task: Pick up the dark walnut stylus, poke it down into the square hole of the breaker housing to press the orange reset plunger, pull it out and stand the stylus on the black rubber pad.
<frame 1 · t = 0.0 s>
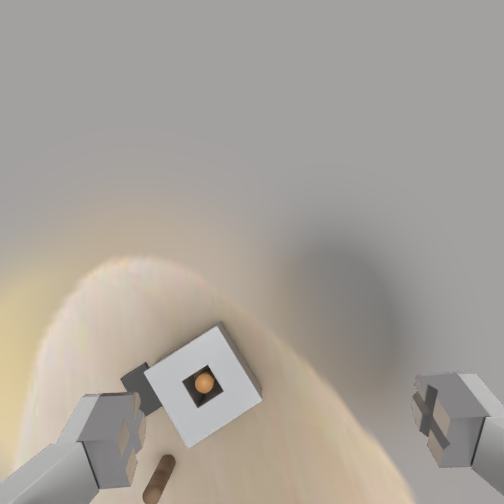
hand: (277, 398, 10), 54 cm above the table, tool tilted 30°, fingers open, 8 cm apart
breaker housing: (208, 375, 63), on the table
rubber pad: (145, 389, 63), on the table
reset plunger: (205, 381, 59), point 4 cm above the table, slide at 0.0 cm
stylus: (168, 462, 62), on the table
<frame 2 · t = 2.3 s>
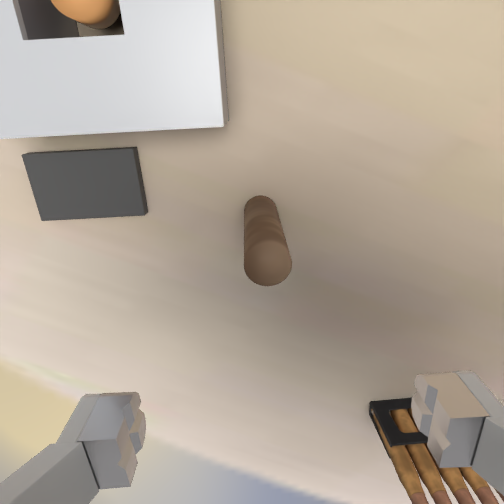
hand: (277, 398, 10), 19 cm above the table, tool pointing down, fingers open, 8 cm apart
breaker housing: (112, 10, 23), on the table
ammunition clip: (419, 401, 37), on the table
rubber pad: (90, 183, 27), on the table
stylus: (260, 211, 28), on the table
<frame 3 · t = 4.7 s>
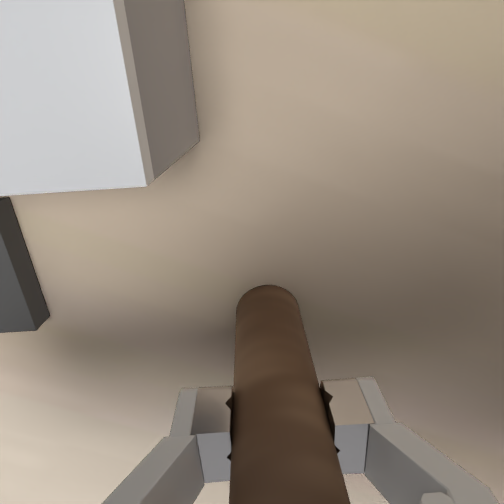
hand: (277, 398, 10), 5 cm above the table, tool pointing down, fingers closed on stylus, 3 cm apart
stylus: (267, 312, 15), on the table, touching gripper
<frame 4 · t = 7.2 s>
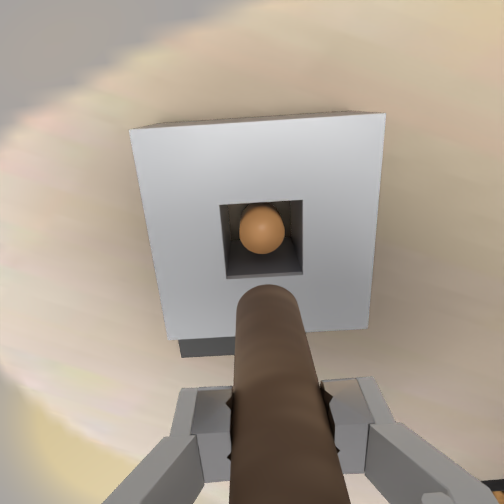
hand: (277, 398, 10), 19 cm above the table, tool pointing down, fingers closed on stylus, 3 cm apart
breaker housing: (259, 209, 28), on the table
ammunition clip: (480, 484, 42), on the table
rubber pad: (222, 326, 32), on the table
reset plunger: (261, 227, 24), point 4 cm above the table, slide at 0.0 cm
stylus: (267, 311, 15), point 15 cm above the table, touching gripper
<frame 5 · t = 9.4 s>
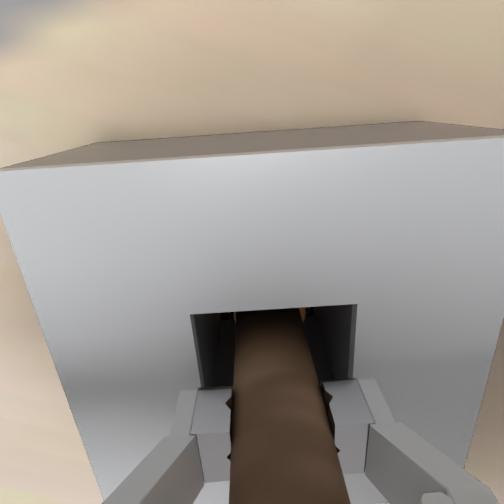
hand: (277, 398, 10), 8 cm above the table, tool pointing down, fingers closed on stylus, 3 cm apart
breaker housing: (265, 276, 18), on the table
reset plunger: (267, 299, 16), point 2 cm above the table, slide at 2.0 cm, touching stylus
stylus: (267, 311, 15), point 3 cm above the table, touching gripper, reset plunger
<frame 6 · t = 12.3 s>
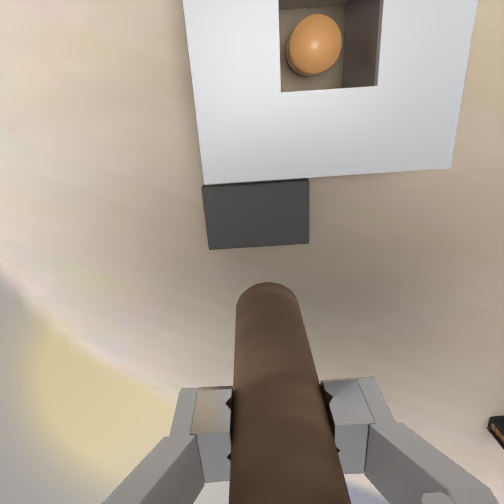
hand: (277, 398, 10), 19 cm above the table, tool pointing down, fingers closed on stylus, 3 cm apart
breaker housing: (306, 51, 23), on the table
rubber pad: (256, 212, 28), on the table
reset plunger: (312, 47, 22), point 2 cm above the table, slide at 2.2 cm
stylus: (267, 309, 14), point 14 cm above the table, touching gripper
when the fingers open (7 cm above the table, at t = 14.7 s): stylus drops 1 cm, resting on rubber pad.
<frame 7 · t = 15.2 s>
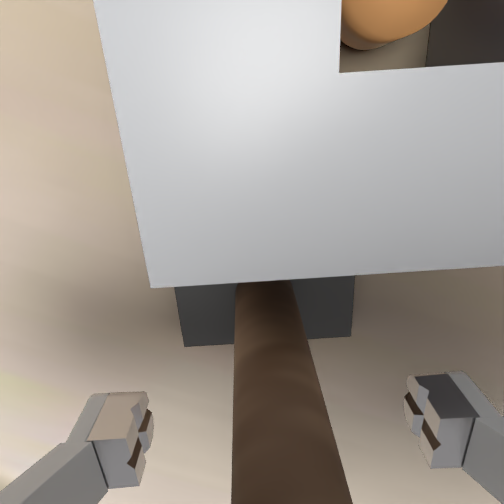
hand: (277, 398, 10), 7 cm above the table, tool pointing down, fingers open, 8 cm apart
breaker housing: (362, 4, 12), on the table
rubber pad: (264, 285, 17), on the table
stylus: (264, 294, 16), point 1 cm above the table, touching rubber pad
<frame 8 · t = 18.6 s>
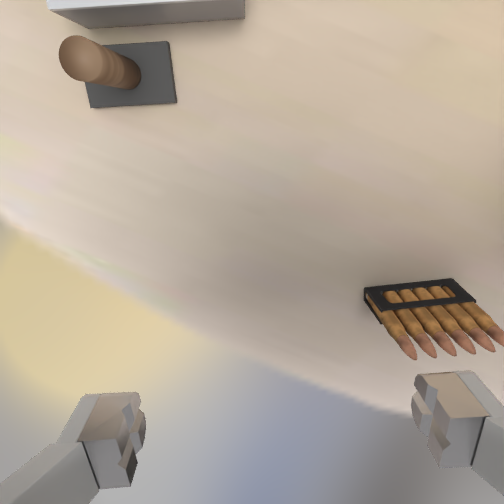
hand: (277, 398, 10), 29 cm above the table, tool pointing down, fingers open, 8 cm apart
ammunition clip: (407, 288, 43), on the table
rubber pad: (130, 76, 33), on the table
stylus: (126, 73, 32), point 1 cm above the table, touching rubber pad
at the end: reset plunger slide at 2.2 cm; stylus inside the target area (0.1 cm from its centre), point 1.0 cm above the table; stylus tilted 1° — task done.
